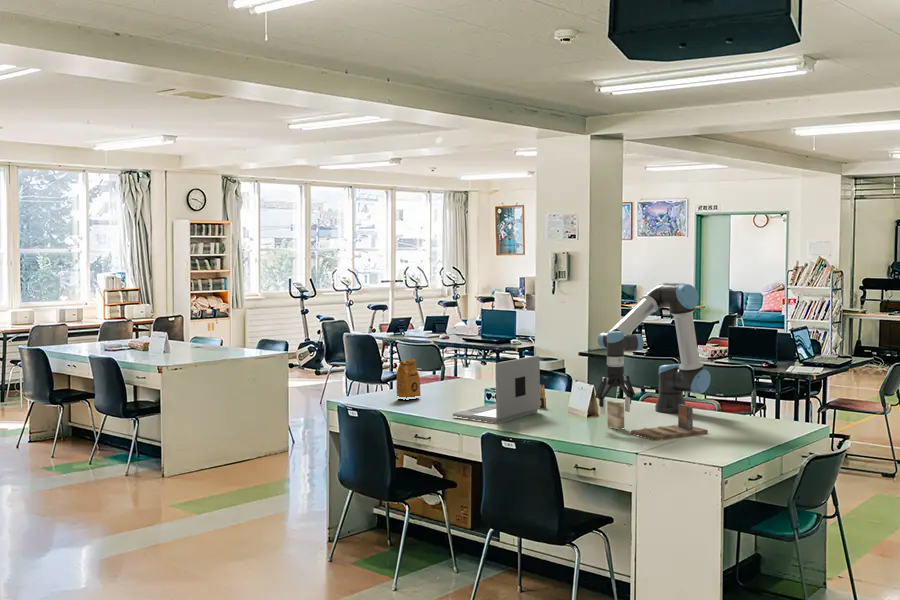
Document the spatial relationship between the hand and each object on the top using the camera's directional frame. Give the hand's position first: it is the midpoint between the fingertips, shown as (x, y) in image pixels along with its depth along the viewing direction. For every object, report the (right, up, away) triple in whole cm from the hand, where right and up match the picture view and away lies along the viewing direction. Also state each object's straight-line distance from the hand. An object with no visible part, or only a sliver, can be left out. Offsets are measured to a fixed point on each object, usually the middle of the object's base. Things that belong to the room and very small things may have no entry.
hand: (615, 412), depth 403 cm
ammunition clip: (-29, -5, +61) cm, 67 cm away
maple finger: (0, -7, +1) cm, 7 cm away
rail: (+21, -7, -14) cm, 26 cm away
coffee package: (-97, -4, +90) cm, 133 cm away
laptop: (-51, -7, +38) cm, 64 cm away
